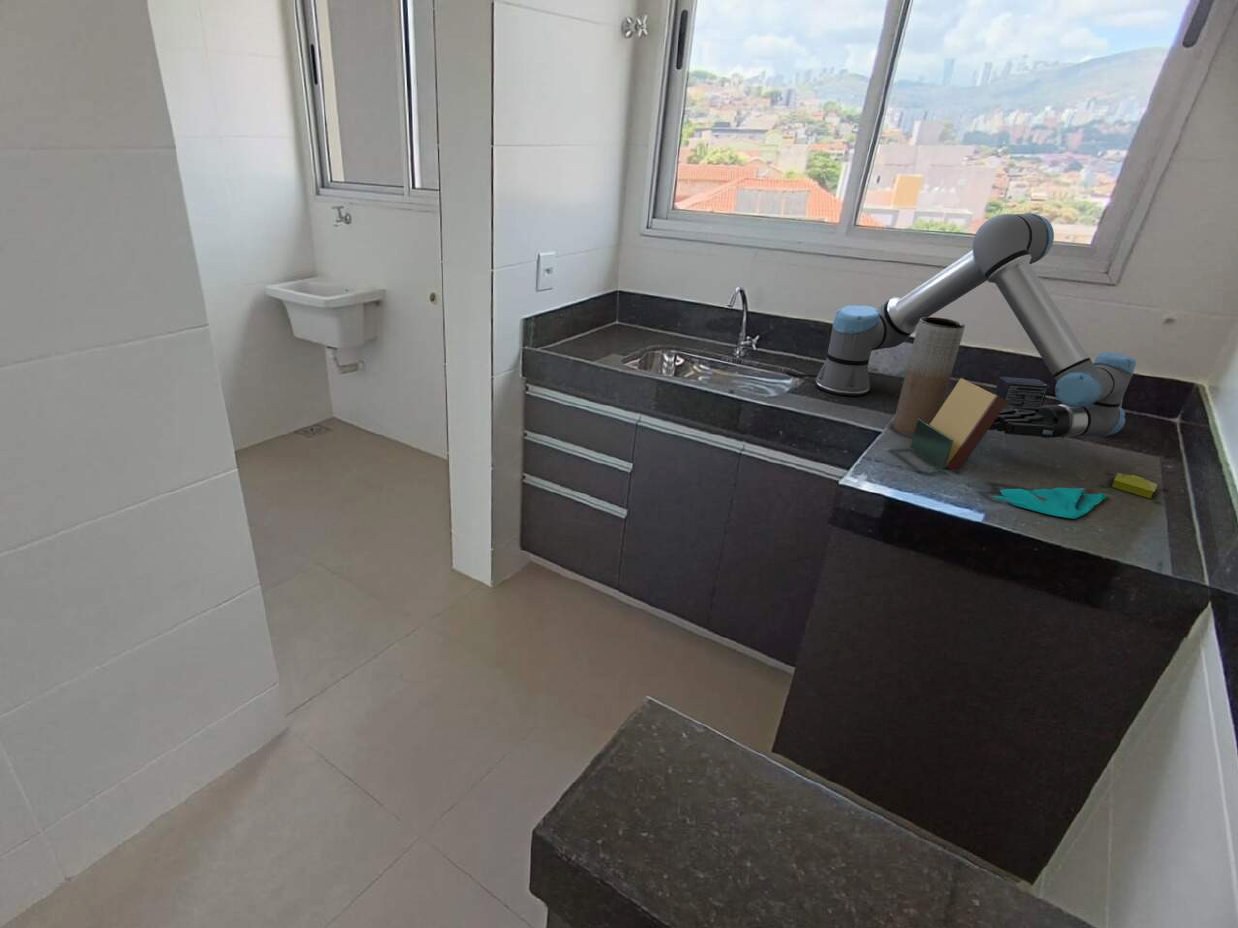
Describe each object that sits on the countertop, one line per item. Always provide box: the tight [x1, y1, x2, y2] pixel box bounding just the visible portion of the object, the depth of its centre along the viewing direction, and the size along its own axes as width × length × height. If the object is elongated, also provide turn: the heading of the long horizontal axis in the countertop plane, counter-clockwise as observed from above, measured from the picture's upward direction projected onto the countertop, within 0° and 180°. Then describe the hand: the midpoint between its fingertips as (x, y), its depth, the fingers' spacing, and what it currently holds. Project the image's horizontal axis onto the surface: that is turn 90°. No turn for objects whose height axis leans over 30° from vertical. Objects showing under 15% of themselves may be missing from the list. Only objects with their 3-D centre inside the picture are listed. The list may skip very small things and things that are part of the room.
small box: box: [993, 376, 1050, 412], centre depth 177 cm, size 11×6×10 cm, turn 84°
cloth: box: [993, 486, 1108, 520], centre depth 134 cm, size 26×14×2 cm, turn 84°
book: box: [930, 377, 1008, 471], centre depth 147 cm, size 3×12×18 cm, turn 11°
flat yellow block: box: [1111, 472, 1164, 504], centre depth 142 cm, size 10×9×3 cm
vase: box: [892, 316, 966, 436], centre depth 160 cm, size 10×10×28 cm
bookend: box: [910, 419, 953, 471], centre depth 147 cm, size 5×12×8 cm, turn 11°
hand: (969, 423), depth 147 cm, fingers closed
